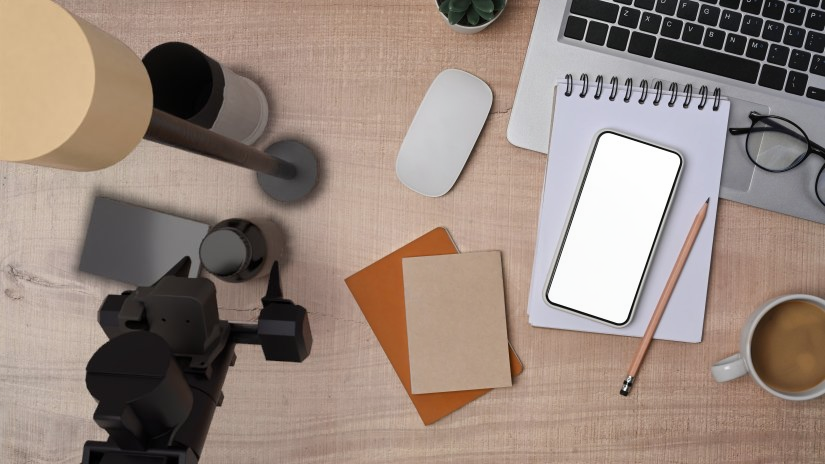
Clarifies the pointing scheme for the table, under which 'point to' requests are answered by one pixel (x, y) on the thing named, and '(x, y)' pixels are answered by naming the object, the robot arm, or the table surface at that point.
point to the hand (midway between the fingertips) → (233, 260)
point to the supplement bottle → (242, 249)
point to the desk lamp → (107, 105)
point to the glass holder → (205, 92)
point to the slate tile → (138, 243)
